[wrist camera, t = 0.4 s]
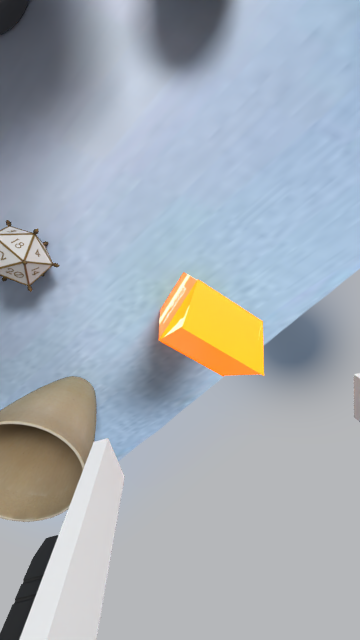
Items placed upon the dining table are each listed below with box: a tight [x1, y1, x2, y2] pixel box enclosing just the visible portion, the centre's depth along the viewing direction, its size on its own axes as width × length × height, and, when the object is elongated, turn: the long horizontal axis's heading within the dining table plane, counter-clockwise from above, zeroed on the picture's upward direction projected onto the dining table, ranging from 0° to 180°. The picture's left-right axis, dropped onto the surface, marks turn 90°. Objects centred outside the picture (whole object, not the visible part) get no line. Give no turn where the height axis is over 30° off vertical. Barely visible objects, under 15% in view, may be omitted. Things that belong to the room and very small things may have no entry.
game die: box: [0, 220, 59, 292], centre depth 30 cm, size 9×8×10 cm
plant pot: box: [0, 376, 96, 522], centre depth 33 cm, size 15×15×16 cm
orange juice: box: [159, 273, 264, 376], centre depth 28 cm, size 8×9×20 cm
